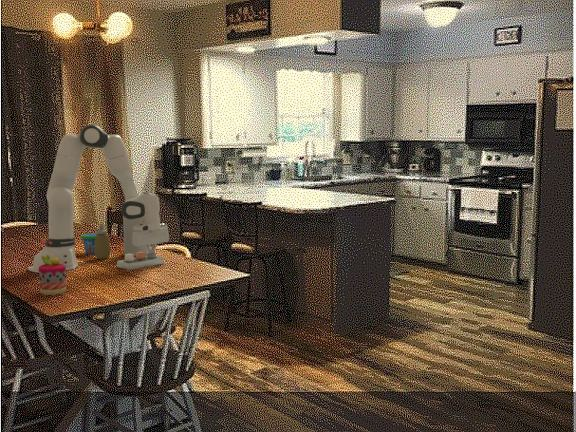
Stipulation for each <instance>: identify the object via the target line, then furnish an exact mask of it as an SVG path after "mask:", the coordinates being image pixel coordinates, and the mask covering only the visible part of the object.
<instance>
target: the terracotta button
mask: <svg viewBox="0 0 576 432" xmlns="http://www.w3.org/2000/svg"><path fill="white" fill-rule="evenodd" d="M145 256H146V255H145V252H136V256H135V258H136V259H138V260H142V259H145Z"/></svg>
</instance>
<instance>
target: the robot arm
mask: <svg viewBox="0 0 576 432" xmlns="http://www.w3.org/2000/svg"><path fill="white" fill-rule="evenodd" d="M85 149H100V150H101V151H102V153H103V156H104V159H105V163H106V165H107V167H108V170H109V172H110V174H111V175H112V176H114V177H115V178H116V179H117V180H118V182H119V184H120V186H121V189H122V192H123V196H124V200H125V201H124V202H123V204H122V205H121V208H120V209H121V210H120V211H121V215H122V217H123V216H124V217H125V218H127V219H136V218H142V222H140V223H138V224H136V225H134V226H133V230H135V231H134V232H133V235H132V244H133V245H134V246H137V247H139V246H145V245H146V248H147V249H148V253H149V254H151V253H156V248H157V246H158V244H163V243H168V242H169V241H170V234H169V226H168V225H167V224H166V223H161V218H160V212H161V211H160V210H161V209H160V208H161V207H160V199H159V196H158V195H157V194H155V193H153V192H148V191H147V192H145V191H144V192H142V193H141V194H140V195H139V194H138V192H137V188H136V186H135V183H134V178H133V174H132V164H131V159H130V155H129V152H128V150H127V149H128V148H127V147H126V145H125V142H124V140H123V138H122V137H121V136H120V135H118V134H108V133H106V132H105V131H104V130H103V129H102V128H101V126H99V125H98V124H88V125H85V126H83V128H82V129H81V131H80V132H79V133H77V134H75V133H67V134H65V135H63V136H62V139H61V140H60V143H59V146H58V149H57V153H56V157H55V161H54V165H53V171H52V173H51V177H50V180H49V184H48V187H47V191H46V200H47V204H48V223H47V224H48V238H47V239H41V241H40V242H41V244H43V245H45V246H44V247H43V248H42V249H41V250H40V251H39V252H38V253H37V254H35V255H34V257H33V261H32V262H33V263H32V265H31V266H28V271H30V272H32V273H38V274H39V267H40V266H41V265H44V264H45V263H44V262H43V259H42V256H45V258H46V255H49V256H50V261H51V260H52V259H53V258H58V259H59V263H60V264H64V265H65V266H66V270H65V271H69V270H74V269H76V268H77V267H78V266H79V263H78V260H77V257H76V250H75V247H76V246H75V245H76V241H75V237H74V194H73V190H74V188H75V183H76V180H77V177H78V174H79V170H80V166H81V165H80V164H81V161H82V158H83V157H82V156H83V153H84V150H85Z"/></svg>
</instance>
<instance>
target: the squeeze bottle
mask: <svg viewBox="0 0 576 432" xmlns="http://www.w3.org/2000/svg"><path fill="white" fill-rule="evenodd" d="M98 229H99V230H97V231H96V233H97V235H96V236H95V248H94V252H95V254H94V255H95V258H97V259H98V260H105V259H109V257H110V254H111V245H110V238H109V234H107V230H106V229H105V227H104V224H103V223H100V224H99V227H98Z"/></svg>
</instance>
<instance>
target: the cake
mask: <svg viewBox="0 0 576 432" xmlns="http://www.w3.org/2000/svg"><path fill="white" fill-rule="evenodd" d="M42 259H43V262H44V263H45V264H44V265H41V266H40V267H39V273H38V275H39V279H38V280H39V282H40V283H39V284H38V287H39V293H41V294H44V295H43V296H46V295H52V296H57V295H56V294H60V295H63V294H62V293H64V292H67V285H68V281H67V280H66V278H67V277H68V276H67V275H66V273H67V270H66V266H65V265H64V264H60V263H59V259H58V258H53V259H52V260H51V261H50V256H49V255H46V258H45V256H42ZM41 294H40V295H41ZM64 294H65V293H64Z"/></svg>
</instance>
